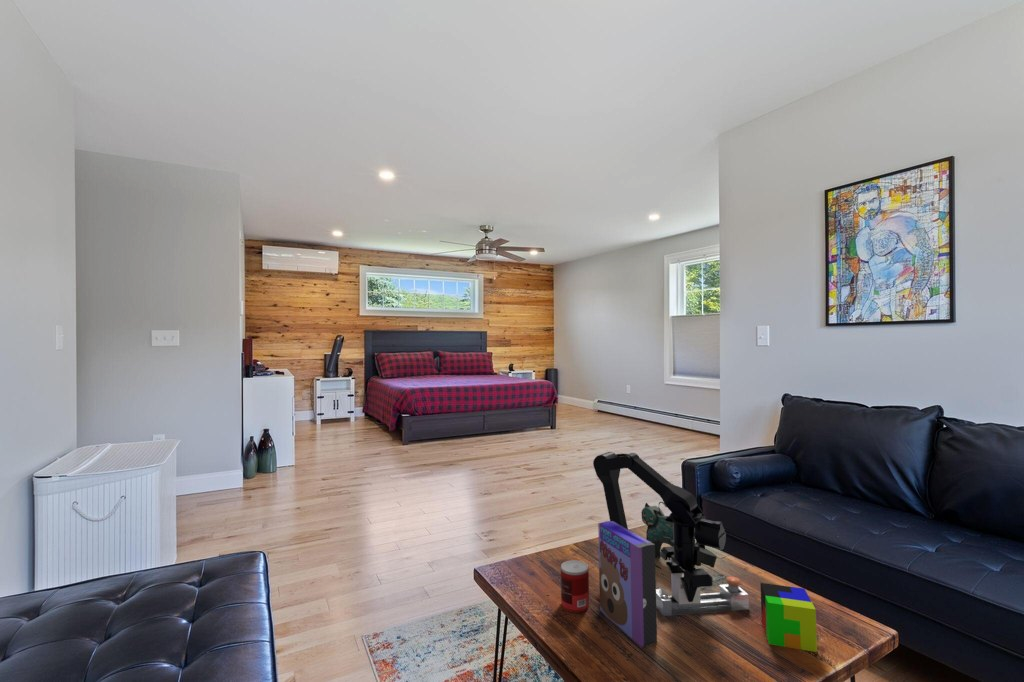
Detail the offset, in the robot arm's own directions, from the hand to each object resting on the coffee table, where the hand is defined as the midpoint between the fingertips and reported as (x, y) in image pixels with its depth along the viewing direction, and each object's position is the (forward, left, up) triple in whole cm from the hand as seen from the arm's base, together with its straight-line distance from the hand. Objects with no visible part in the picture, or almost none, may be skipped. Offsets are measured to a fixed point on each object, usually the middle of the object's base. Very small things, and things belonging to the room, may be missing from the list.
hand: (685, 596), depth 128 cm
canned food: (-30, +5, -3) cm, 31 cm away
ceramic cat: (+7, +26, -3) cm, 27 cm away
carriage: (0, 0, -1) cm, 1 cm away
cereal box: (-19, -6, -3) cm, 20 cm away
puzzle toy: (+19, -15, -3) cm, 24 cm away
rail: (+4, 0, -3) cm, 5 cm away
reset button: (+14, 0, -1) cm, 14 cm away
